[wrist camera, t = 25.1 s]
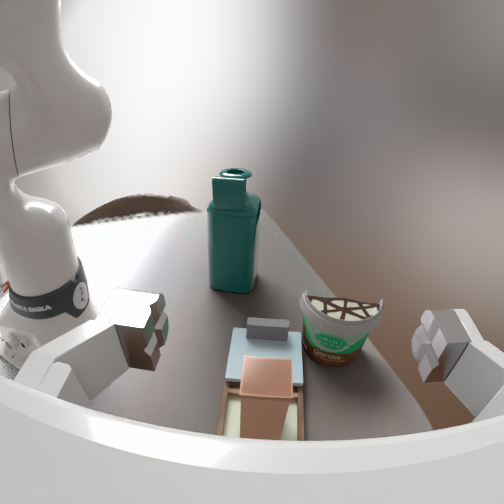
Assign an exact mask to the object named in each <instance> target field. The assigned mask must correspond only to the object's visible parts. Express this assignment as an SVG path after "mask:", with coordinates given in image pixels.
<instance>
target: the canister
mask: <svg viewBox="0 0 504 504" xmlns="http://www.w3.org/2000/svg"><path fill="white" fill-rule="evenodd" d="M239 398H241V410H240V438H250V439H264V440H280V438H281V434H282V430H283V426H284V423H285V419H286V415H287V411H288V407H289V403H290V401H292V399H293V378H292V359H280V358H265V357H251V356H244V360H243V368H242V376H241V384H240V392H239Z"/></svg>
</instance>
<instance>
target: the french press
mask: <svg viewBox="0 0 504 504" xmlns="http://www.w3.org/2000/svg"><path fill="white" fill-rule="evenodd" d="M7 280H8V279H7V276H6V274H5V271H4V269H3V266H2V264H1V262H0V298H1V297H2V296H4V295H5V294H6V293H7V292H8V291H9V289H8V290H7V291H6V292H5V293H3V290H4V288H5V287H6V285H7V284H6V285H5V286H4V287H3V288H1V287H2V285H3V284H4V283H5V282H6V281H7Z"/></svg>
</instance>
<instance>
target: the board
mask: <svg viewBox="0 0 504 504" xmlns="http://www.w3.org/2000/svg"><path fill="white" fill-rule="evenodd" d="M240 384H241V382H231V381H224V387H223V393H222V399H221V405H220V411H219V417H218V423H217V429H216V435H219V436H228V437H238V438H240V410H241V398H239V392H240ZM280 440H285V441H304V406H303V386H293V399H292V401H290V403H289V407H288V411H287V415H286V419H285V423H284V426H283V430H282V434H281V438H280Z"/></svg>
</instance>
